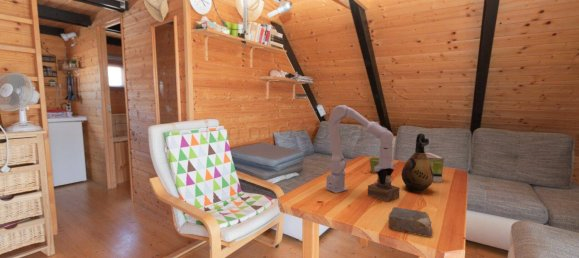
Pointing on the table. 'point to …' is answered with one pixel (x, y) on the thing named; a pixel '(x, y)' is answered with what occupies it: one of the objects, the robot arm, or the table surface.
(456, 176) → the table surface
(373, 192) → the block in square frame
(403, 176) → the ceramic jug
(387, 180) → the rectangular block end
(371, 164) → the plant pot
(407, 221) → the geological specimen
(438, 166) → the tea box
